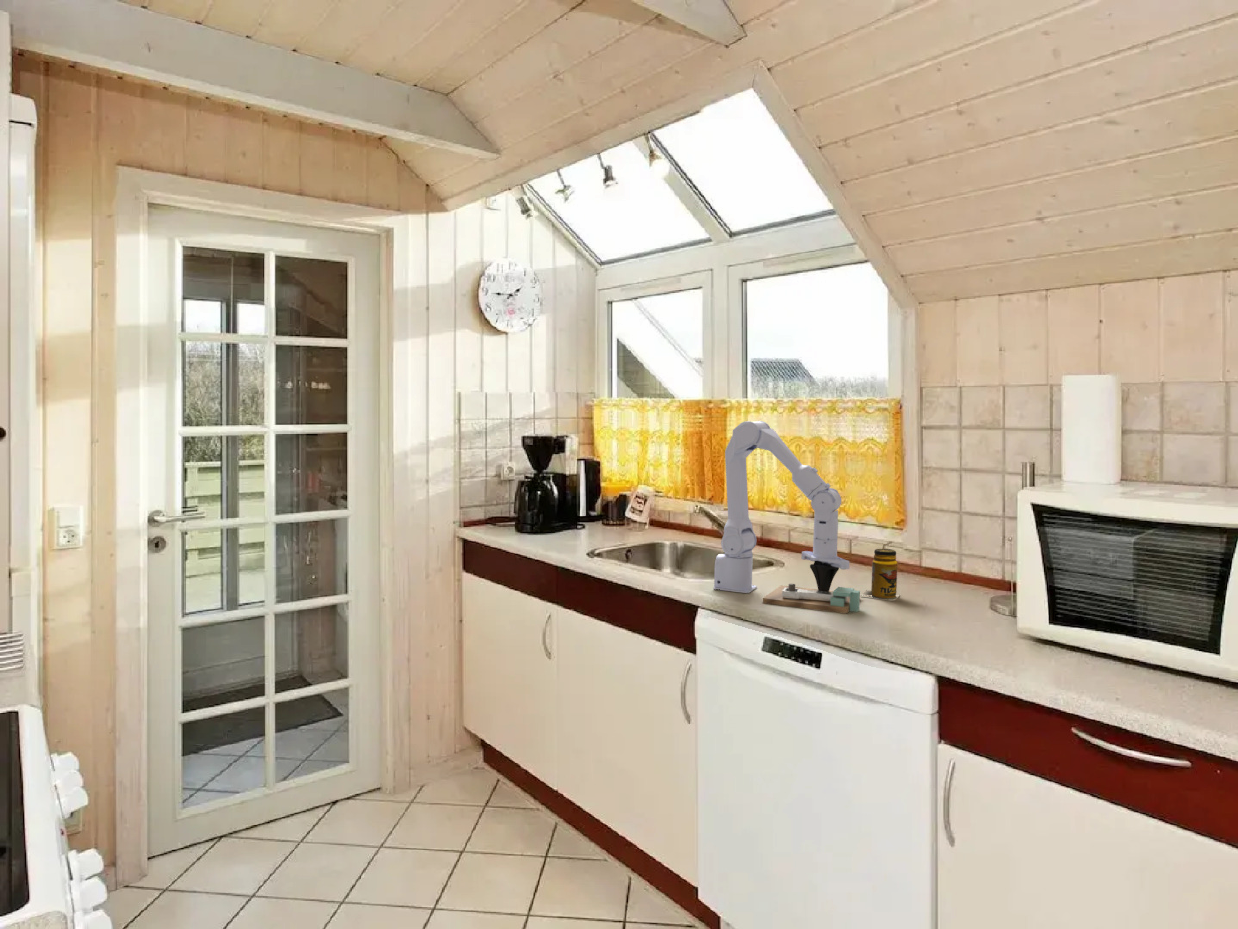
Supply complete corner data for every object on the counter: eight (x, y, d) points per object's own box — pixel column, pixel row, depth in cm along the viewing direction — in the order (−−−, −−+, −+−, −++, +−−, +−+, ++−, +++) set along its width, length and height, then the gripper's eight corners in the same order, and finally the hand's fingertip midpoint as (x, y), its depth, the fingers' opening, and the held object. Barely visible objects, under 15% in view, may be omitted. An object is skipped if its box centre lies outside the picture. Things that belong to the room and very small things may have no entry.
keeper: (830, 610, 184) (830, 591, 184) (835, 604, 189) (836, 586, 189) (856, 613, 181) (856, 594, 181) (860, 608, 187) (861, 589, 186)
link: (782, 597, 190) (782, 590, 190) (784, 593, 194) (784, 587, 194) (846, 603, 185) (846, 596, 185) (847, 599, 189) (847, 593, 189)
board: (762, 602, 190) (763, 584, 190) (780, 589, 205) (781, 572, 204) (846, 613, 181) (847, 594, 181) (859, 599, 196) (860, 581, 195)
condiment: (894, 601, 194) (896, 553, 193) (859, 597, 198) (861, 550, 197) (900, 595, 200) (901, 549, 199) (866, 591, 204) (867, 545, 203)
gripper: (792, 535, 196) (791, 588, 197) (834, 544, 184) (832, 601, 185) (814, 533, 200) (812, 585, 201) (856, 542, 187) (854, 598, 188)
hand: (823, 593), depth 193 cm, fingers closed
